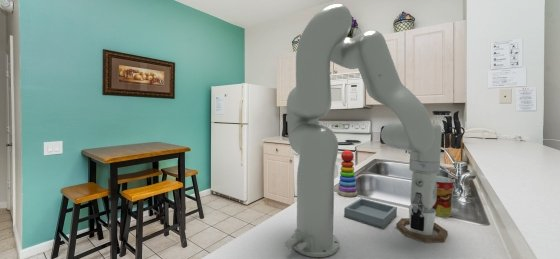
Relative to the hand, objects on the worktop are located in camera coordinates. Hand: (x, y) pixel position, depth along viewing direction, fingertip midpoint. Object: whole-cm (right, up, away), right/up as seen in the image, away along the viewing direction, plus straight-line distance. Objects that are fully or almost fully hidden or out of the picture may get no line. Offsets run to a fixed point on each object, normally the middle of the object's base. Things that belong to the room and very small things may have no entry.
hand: (421, 223), depth 72 cm
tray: (-11, -2, +10) cm, 15 cm away
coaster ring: (0, -2, 0) cm, 2 cm away
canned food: (+14, -2, +14) cm, 19 cm away
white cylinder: (0, -3, 0) cm, 3 cm away
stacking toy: (-13, 0, +32) cm, 35 cm away
